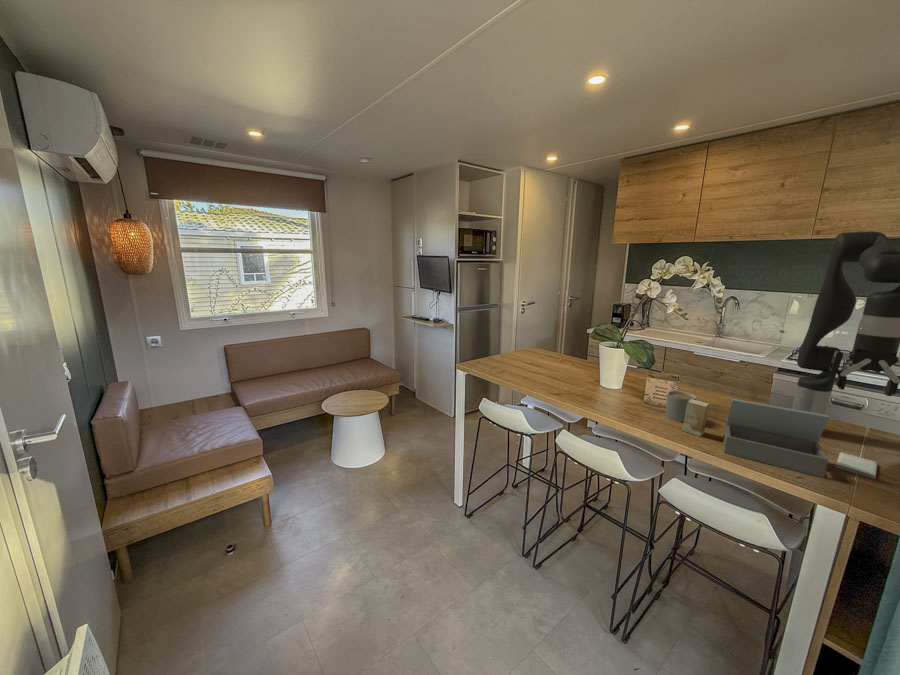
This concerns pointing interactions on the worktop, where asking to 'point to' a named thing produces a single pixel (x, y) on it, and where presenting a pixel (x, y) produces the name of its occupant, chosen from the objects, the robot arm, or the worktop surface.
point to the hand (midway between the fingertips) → (863, 391)
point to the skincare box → (695, 417)
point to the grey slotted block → (775, 450)
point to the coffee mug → (677, 405)
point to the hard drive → (857, 465)
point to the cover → (777, 420)
